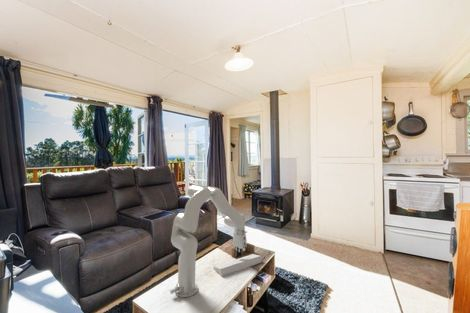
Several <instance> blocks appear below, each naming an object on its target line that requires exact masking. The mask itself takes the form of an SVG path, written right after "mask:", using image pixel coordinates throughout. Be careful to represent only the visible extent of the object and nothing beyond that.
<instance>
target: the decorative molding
mask: <svg viewBox="0 0 470 313" xmlns="http://www.w3.org/2000/svg"><path fill="white" fill-rule="evenodd" d="M260 263H262V256H261V255H260V254H259V255H258V254H255V253H251V254H249V255H245V256H241V257H239V258H236V259H232V260H230V261H226V262H223V263H220V264H217V265H213V270H214V271H215V272H216V273H218V275H219V276H220V277H221V276H222V277H225V276H227V275H230V274H233V273H235V271H236V272H238V271H241V270H243V269H247V268H249V267H252V266H255V265H258V264H260Z"/></svg>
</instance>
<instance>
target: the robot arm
mask: <svg viewBox="0 0 470 313" xmlns="http://www.w3.org/2000/svg"><path fill="white" fill-rule="evenodd" d="M187 195H188V197H189V199H188V200H187V202H186V203H185V206H184V211H183V212H179V213H177V214H176V215H175V218H174V219H173V224H172V228H171V237H170V242H171V244H172V246H173V247H175V248H176V249H178V250H179V252H180V254H179V256H178V263H177V264H178V265H177V266H178V269H177V270H178V272H177V273H178V274H177V276H178V277H177V283H176V286H175V287H174V288H172V289H170V290H169V292H170V294H171V295H172V294H174V295H176V296H177V297H179V298H189V297H192V296H194V295H196V294H197V292H198V290H199V289H198V288H199V287H198V285H197V283H196V255H197V249H198V244H199V242H198V239H197V238H196V237H195V236H194V235H191V234H192V233H195V232H196V231H197V229H198V226H199V218H200V217H199V216H200V211H201V207H202V206H203V205H204V203H205V202H207V201H208V200H209V201H211V202H212V203H213V204H214V206H215V208H216V210H217V211H218V212H219V213H221V214H222V215H224V216H225V217H224V219H223V223H224V224H225V225H226V226H227V227H231V228H234V229H233V236H232V247H233V248H236V251H237V256H236V258H237V259H239V258H242V253H241V251H244V250H245V247H246V246H247V243H248V242H247V241H248V240H247V234H246V233H247V232H246V231H245V230H246V228H245V227H246V215H245V214H244V213H240V212H239V211H238V210H237V209H236V208H235V207H233V205H232V204H231V203H230V202H229V201H228V200H227V197H226V196H225V194H224V193H223V190H221V189H220V188H218V187H215V186H210V185H209V186H208V185H198V184H192V185H191V186H189V188H188V189H187Z"/></svg>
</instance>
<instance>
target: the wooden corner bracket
mask: <svg viewBox="0 0 470 313" xmlns="http://www.w3.org/2000/svg"><path fill="white" fill-rule="evenodd" d="M244 252H248V253H251V254H255V245H254V244H251V243H249V242H247V246H246V247H245V250H244V251H241V254H244ZM235 256H236V257H237V251H236V248H235V247H233V248H232V249H231V257H232V258H233V257H234V258H235Z"/></svg>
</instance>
